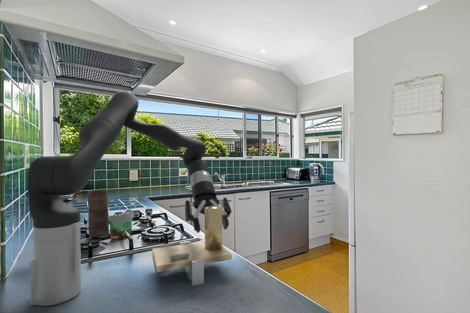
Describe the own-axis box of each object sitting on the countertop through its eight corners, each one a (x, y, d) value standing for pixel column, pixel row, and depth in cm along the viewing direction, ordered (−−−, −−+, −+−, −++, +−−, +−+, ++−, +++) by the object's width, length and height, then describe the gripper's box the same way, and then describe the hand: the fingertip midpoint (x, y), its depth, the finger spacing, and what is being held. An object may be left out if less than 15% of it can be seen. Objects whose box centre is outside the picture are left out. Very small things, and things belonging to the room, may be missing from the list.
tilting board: (156, 277, 64) (156, 260, 64) (152, 257, 76) (152, 244, 76) (231, 263, 71) (231, 248, 71) (217, 248, 83) (216, 235, 83)
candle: (90, 241, 100) (89, 190, 100) (86, 237, 105) (85, 188, 105) (111, 237, 105) (110, 188, 105) (106, 233, 111) (105, 187, 110)
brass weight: (207, 251, 73) (207, 209, 73) (202, 246, 78) (202, 206, 78) (224, 249, 75) (224, 208, 75) (218, 243, 80) (218, 205, 80)
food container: (122, 242, 99) (122, 216, 99) (108, 241, 100) (108, 216, 100) (140, 233, 111) (140, 210, 111) (127, 232, 112) (127, 209, 112)
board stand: (192, 285, 65) (192, 262, 65) (180, 261, 80) (180, 242, 80) (203, 283, 66) (203, 260, 66) (189, 259, 82) (189, 240, 82)
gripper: (219, 192, 92) (231, 233, 82) (179, 195, 87) (187, 239, 76) (224, 179, 87) (238, 220, 77) (182, 180, 82) (191, 225, 71)
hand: (212, 229), depth 76 cm, fingers open, 8 cm apart
